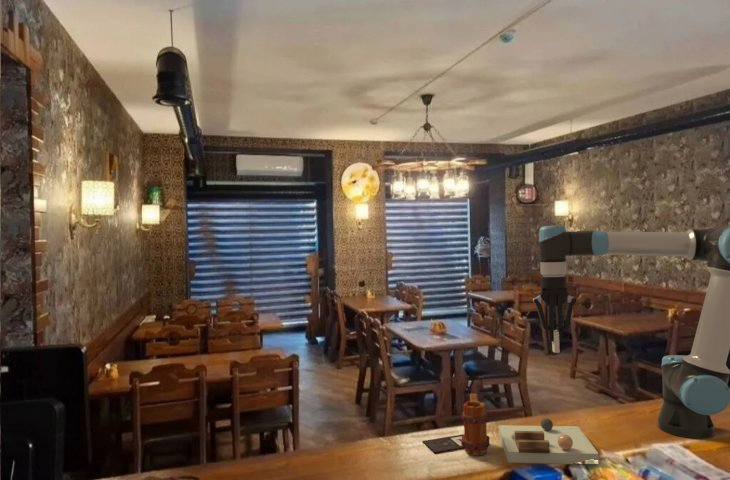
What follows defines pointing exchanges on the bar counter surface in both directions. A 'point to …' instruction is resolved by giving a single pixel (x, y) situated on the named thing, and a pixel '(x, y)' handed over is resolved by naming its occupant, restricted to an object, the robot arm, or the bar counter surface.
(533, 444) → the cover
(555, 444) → the board
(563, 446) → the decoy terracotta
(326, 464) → the bar counter surface
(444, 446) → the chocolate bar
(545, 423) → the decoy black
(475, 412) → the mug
